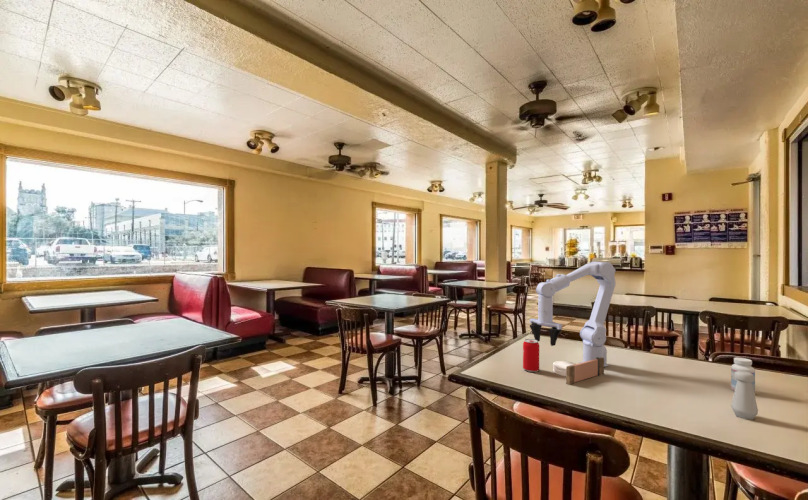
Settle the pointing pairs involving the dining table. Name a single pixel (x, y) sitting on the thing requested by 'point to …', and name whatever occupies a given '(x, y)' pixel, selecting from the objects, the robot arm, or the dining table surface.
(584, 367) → the door
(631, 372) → the dining table surface
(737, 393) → the salt shaker
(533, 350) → the beverage can
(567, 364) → the white short cylinder
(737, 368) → the pill bottle
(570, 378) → the wall frame
